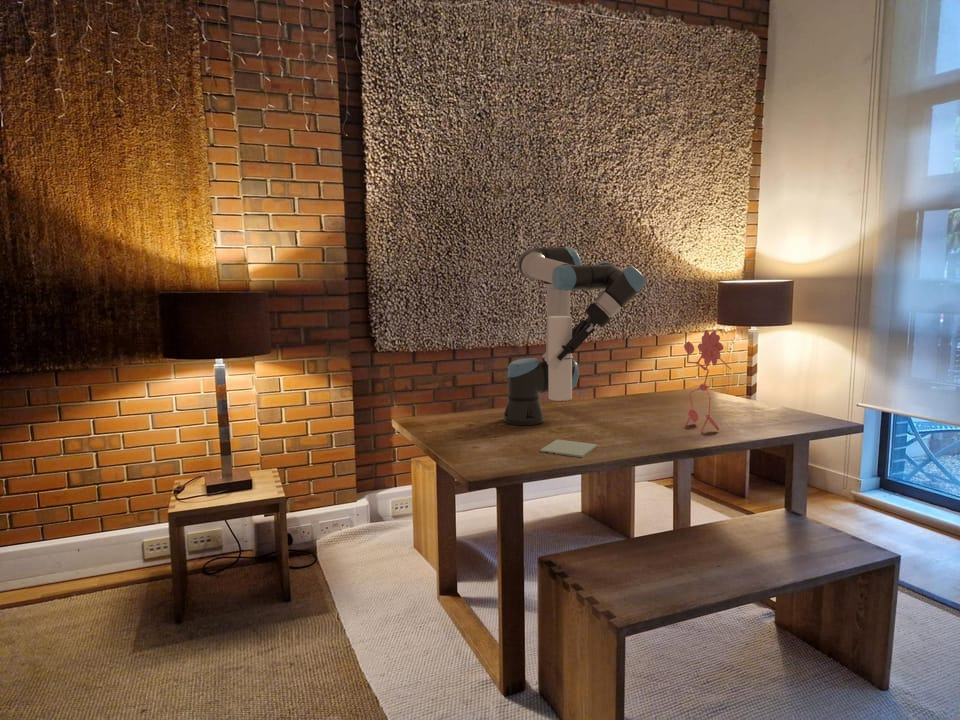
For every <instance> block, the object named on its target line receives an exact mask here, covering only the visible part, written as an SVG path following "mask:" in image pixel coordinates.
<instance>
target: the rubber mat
mask: <svg viewBox="0 0 960 720" xmlns="http://www.w3.org/2000/svg"><path fill="white" fill-rule="evenodd" d="M597 447H598V443H597V444H596V443H590V442H581V441H571V440H565V439H555V440H553V441H552V442H550V443H548V444H547V445H546V446H544V447H542V448H540V449H539V452H540V451H541V452H540V453H545V452H548V453H547V454H553V453H555V455H561V456H562V455H563V456H568V457H569V456H570V457H576V458H584V457H585V456H586V455H588V454H589V453H590V452H591V451H594V449H595V448H597Z"/></svg>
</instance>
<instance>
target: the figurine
mask: <svg viewBox="0 0 960 720" xmlns="http://www.w3.org/2000/svg"><path fill="white" fill-rule="evenodd" d="M720 339H721V337H720V334H717V332H716V330H713V331H711V332H709V330H708V329H705V330H704V332H703V335H702V336H701V343H699V344H698V345H697V349H698V351H699V352H700V353H701V354H700V357H699V359H698V360H697V361H689V356H690V355H692V354H693V353H694V352H695V347H694V345H693V343H692V342H690V341H689V340H688V341H685V343H684V345H683V348H684V351H685V352H686V353H687V354H686V363H687V364H696V365H698V366H699V367H700V368H701V369H703V370H704V371H707V372H706V374H705V379H704V383H701V384H699V388H696V389H694V390H692V391H689V394H688V395H689V400H690V405H691V406H690V407H691V409H689V410H688V412H687V413H688V414H687V415H688V419H687V420H686V423H685V427H688V424H689V422H690V420H691V421H692V422H693V423H694V424H696V423H697V422H698V421H699V420H700V419H699V418H700V417H699V414H698V412H697V411H696V410H695V409H693V402H692V393H694V392H697V391H699V390H700V391H702V392H706V393H707V395H708V397H709V400H708V401H709V402H708V413H706V414H705V417H706V418H705V419H703V421H705V422H704V423H703V426H702V427H701V430H700V432H702V433H703V431H704V430H705V427H706V424H707V423H708V422H709V423H710V424H711V426H713V427H714V428H715V429H716V430H717V431H718V432H719V431H720V428H719V427H718V425H717V423H718V424H722V425H726V426H728V427H730V428H732V426H731V425H729V424H728V423H724V422H719V421H717V422H716V421H714V419H713V417H711V415H710V413H711V395H710V393H709V391H708V385H707V384H706V383H707V378H708V375H709V373H710V371H709V369H708V367H709V365H710V363H711V364H712V365H714V366H716V365H717V363H718V360H719V361H721V362H722V363H723V364H724V365H725V367H727V368H728V369H729V370H732V368H731V367H730V366H729V364H727V363H726V362H725V361H724V360H723V359H722V358H721V351H723V350H724V345H723V344H722V342H720ZM701 360H703V361H704V362H703V363H704V365H705V366H704V365H702V364H700V361H701Z"/></svg>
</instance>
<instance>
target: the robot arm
mask: <svg viewBox="0 0 960 720" xmlns="http://www.w3.org/2000/svg"><path fill="white" fill-rule="evenodd" d="M517 261H518V262H517V268H518V272H519V273H520V275H521V276H522V277H523V278H526V279H529V280H532V281H533V280H540V281H543V283H542V284H543V286H544V287H545V288H546V290H547V293H546V338H545V339H546V349H545V351H546V352H544V353H543V354H542V356H541V361H540V359H539V358H536V357H529V358H527V357H526V358H520V359H516V360H512V361H511V362H510V363H509V364H508V366H507V375H506V376H507V403H506V406H505V409H504V412H503V422H504V423H505V424H508V425H513V426H534V425H535V426H536V425H539V424H542V423H543V422H544V421H545V420H544V413H543V409H542V407H541V404H540V393H549V385H548V365H549V366H550V367H551V368H552V369H553V370H554V369H555V368H556V367H557V366H558V365H559V364H560V363H561V362H562V361H563V360H564V359H565V358H566V357H567V356H568V355H569V354H570V353H572V354H573V353H574V352H575V351H576V350H577V349H578V348H579V347H580V346H581V345H582V343H584V341H585V340H586V339H587V338H588V337H589V336H590V335H591V334H592V333H593V332H595V330H596V329H595V326H597V325H598V326H599V328H604V327H605V326H606V325H607V324H608V323H609V322H610V321H611V318H614V317H615V315H620V314H621V313H620V311H621V309H623V307H625V306H626V304H628V303H629V302H630V301H631V300H632V299H633V298H634V297H635V296H636V295H637V294H638V293H640V291H641V290H642V289H643V288H644V286H645V285H646V283H647V279H646V277H645V276H644V275H643V274H642V273H641V272H640V271H639V270H638V269H637V268H636V267H634V266H633V265H629V266H627V267H626V268H624V269H621V268H619V267H618V266H616V265H615V264H613V263H611V262H608V261H601V262H598V263H597V264H592V265H591V264H586V265H582V262H581V257H580V255H579V254H578V252H577V250H576V249H575V248H574V247H567V246H559V247H558V246H557V247H556V246H554V247H552V246H551V247H549V246H548V247H545V246H544V247H539V246H538V247H532V248H529V249H527V250H525V251H523V252H522V253H521V255H520V256H519V258H518V260H517ZM579 290H582V291H583V290H588V291H589V290H591V291H592V290H603V291H602V292H601V293H600V294H599V295H598V296H597V297H596V298H595V299H594V302H591V303H590V305H588V307H586V308H585V310H584V313H585V315H587V318H586V319H580V321H579V322H578V323H577V324H576V326H574V328H573V327H572V339H571V340H570V341H569V342H568V343H567V344H566V346H564V345H563V346H561V347H562V348H561V349H560V350H559V351H558V352H557V354H556V355H555V356H554V357H553V358H552V359H551V360H550V361H549V362H548V317H550V316H571V291H579ZM579 371H580V370H579V365H578V362H577V361H576V360H574V356H573V355H572V389H574V387H575V386H576V385H577V383H578V380H579V375H580V374H579V373H580V372H579Z"/></svg>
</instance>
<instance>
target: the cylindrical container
mask: <svg viewBox="0 0 960 720" xmlns="http://www.w3.org/2000/svg"><path fill="white" fill-rule="evenodd" d="M572 329H573V317H572V316H571V315H570V316H550V317H548V362H549V361H550V360H551V359H552V358H553V357H554V356H555V355H556V354H557V352H558V351H559V350H560V349H561V348H562V347H561V346H563V345H564V346H566V344H567V343H568V342H569V341H570V340H571V339H572ZM572 356H573V353H570V354H569V355H568V356H567V357H566V358H565V359H564V360H563V361H562V362H561V363H560V364H559V365H558V366H557V367H556V368H555V369H554V370H553V369H552V368H551V367H550V366H549V365H548V385H549V392H548V400H551V401H558V402H559V401H560V402H562V401H564V402H565V401H569V400H572V399H573V388H572Z"/></svg>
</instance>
